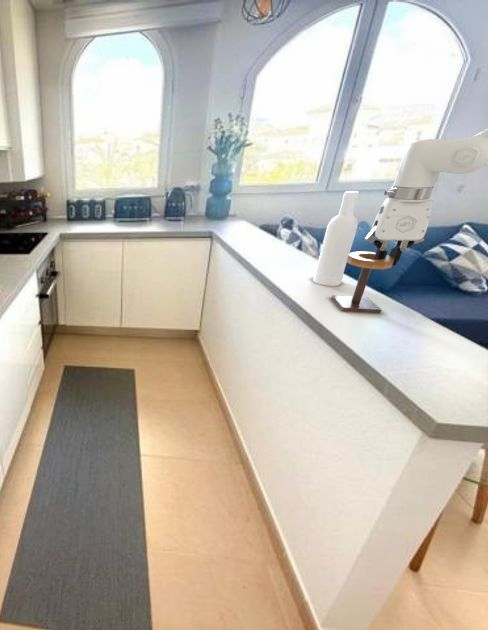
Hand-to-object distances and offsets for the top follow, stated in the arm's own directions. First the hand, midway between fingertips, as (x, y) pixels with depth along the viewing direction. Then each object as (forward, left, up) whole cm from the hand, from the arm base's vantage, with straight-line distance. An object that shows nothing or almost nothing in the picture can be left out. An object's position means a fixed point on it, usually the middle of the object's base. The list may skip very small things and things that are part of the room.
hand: (384, 263), depth 94 cm
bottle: (+5, -20, -14) cm, 25 cm away
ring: (+4, 0, 0) cm, 4 cm away
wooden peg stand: (+4, 0, -14) cm, 14 cm away
